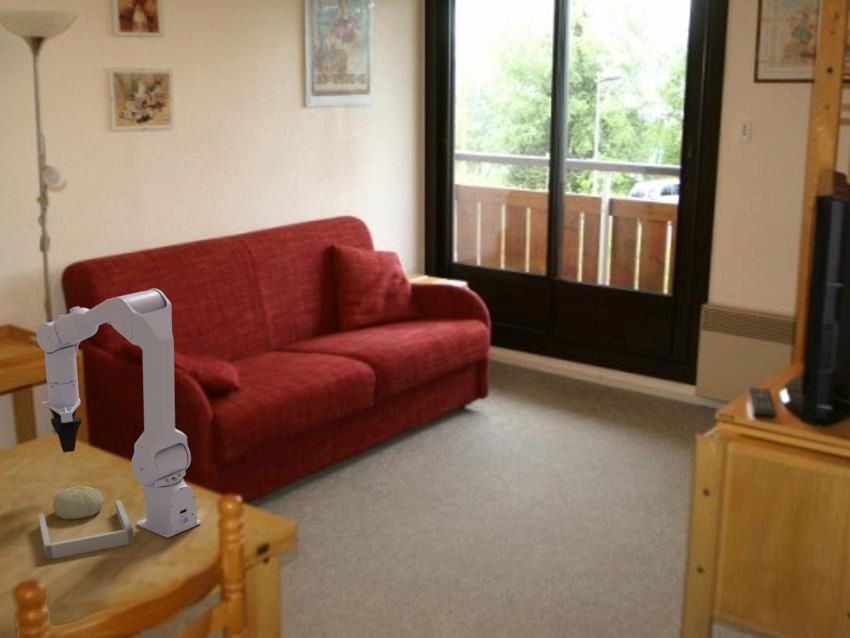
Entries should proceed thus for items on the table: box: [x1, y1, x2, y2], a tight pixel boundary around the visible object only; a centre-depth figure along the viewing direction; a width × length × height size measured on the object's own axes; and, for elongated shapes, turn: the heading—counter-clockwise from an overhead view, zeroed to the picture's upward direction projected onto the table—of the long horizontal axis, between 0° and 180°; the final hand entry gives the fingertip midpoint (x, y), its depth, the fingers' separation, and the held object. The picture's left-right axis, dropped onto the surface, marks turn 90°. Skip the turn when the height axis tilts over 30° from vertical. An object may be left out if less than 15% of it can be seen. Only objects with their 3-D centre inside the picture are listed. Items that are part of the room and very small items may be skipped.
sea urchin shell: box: [52, 485, 105, 520], centre depth 203 cm, size 9×8×8 cm
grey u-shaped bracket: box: [37, 499, 135, 561], centre depth 193 cm, size 15×15×2 cm
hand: (67, 444), depth 210 cm, fingers open, 7 cm apart
